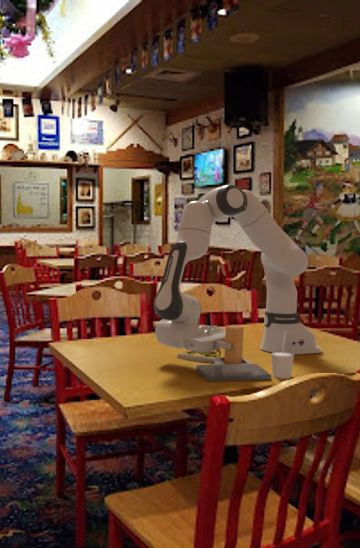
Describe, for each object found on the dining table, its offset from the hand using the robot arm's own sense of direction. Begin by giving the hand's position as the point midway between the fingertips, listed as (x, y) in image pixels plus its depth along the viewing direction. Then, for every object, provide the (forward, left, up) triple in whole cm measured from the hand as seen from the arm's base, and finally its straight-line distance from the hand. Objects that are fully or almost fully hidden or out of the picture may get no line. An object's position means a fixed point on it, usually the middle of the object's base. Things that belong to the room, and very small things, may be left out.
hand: (236, 344), depth 198 cm
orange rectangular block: (+1, -1, -6) cm, 7 cm away
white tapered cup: (-14, +2, -10) cm, 18 cm away
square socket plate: (+1, -1, -10) cm, 10 cm away
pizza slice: (+2, -27, -10) cm, 29 cm away
